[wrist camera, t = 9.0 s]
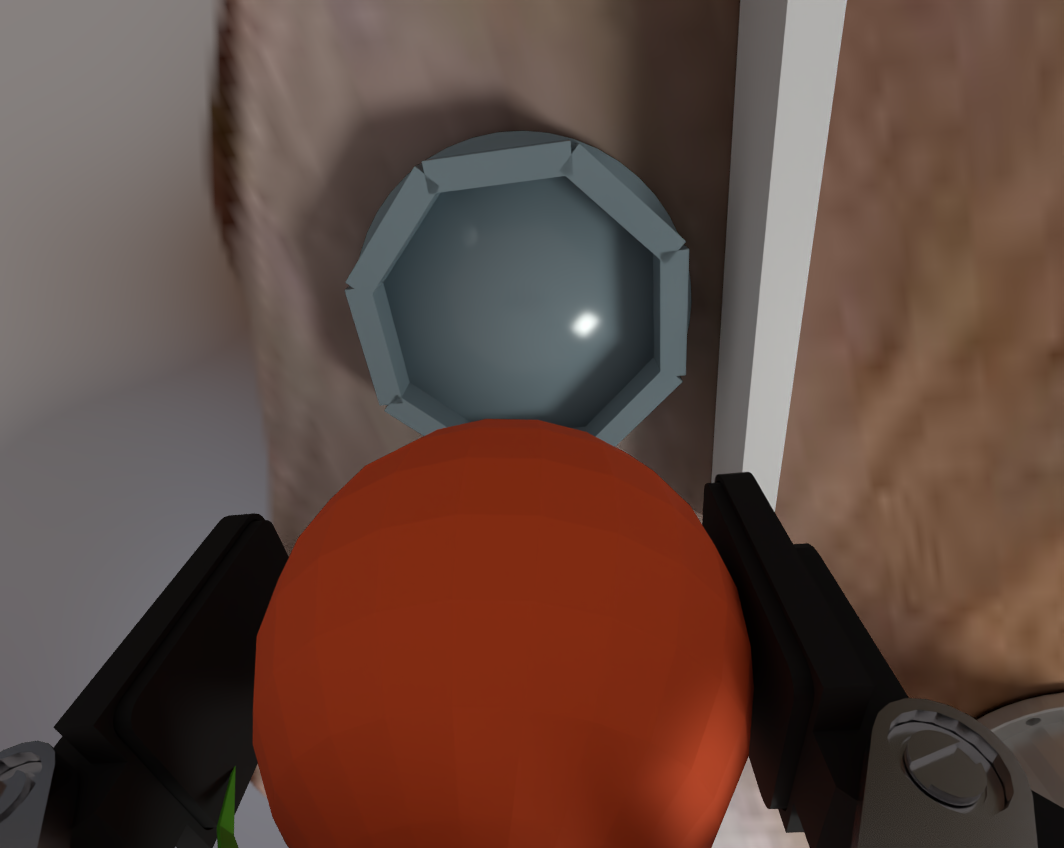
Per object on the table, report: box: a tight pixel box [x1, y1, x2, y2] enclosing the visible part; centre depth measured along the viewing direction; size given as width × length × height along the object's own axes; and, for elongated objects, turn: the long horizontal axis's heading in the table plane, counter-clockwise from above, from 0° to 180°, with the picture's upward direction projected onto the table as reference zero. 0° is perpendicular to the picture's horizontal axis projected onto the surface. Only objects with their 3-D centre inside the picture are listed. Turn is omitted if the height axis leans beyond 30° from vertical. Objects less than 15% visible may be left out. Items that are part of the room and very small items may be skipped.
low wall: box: [711, 0, 847, 512], centre depth 20 cm, size 2×24×4 cm, turn 7°
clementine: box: [217, 419, 754, 848], centre depth 8 cm, size 8×7×7 cm
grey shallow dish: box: [345, 130, 691, 447], centre depth 21 cm, size 14×14×2 cm
